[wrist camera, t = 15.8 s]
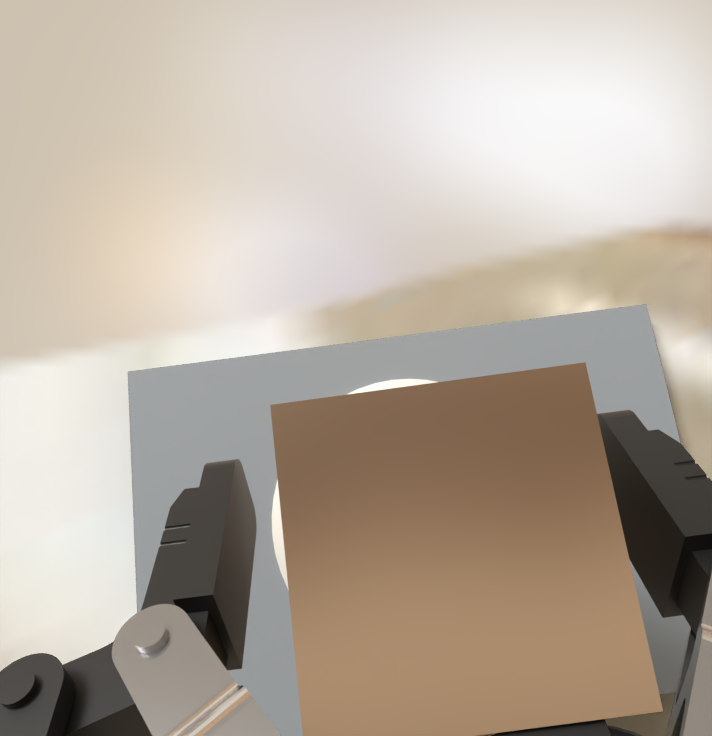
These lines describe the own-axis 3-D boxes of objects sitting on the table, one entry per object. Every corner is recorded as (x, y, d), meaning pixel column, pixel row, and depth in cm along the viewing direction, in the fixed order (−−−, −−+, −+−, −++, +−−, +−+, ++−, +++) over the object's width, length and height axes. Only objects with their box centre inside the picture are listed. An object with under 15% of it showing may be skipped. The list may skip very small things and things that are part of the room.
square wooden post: (494, 584, 18) (663, 711, 7) (348, 603, 18) (305, 758, 7) (469, 437, 19) (585, 362, 8) (330, 456, 19) (270, 405, 8)
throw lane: (757, 812, 17) (777, 829, 16) (159, 885, 18) (147, 906, 17) (636, 311, 21) (647, 303, 20) (136, 376, 21) (126, 371, 20)
